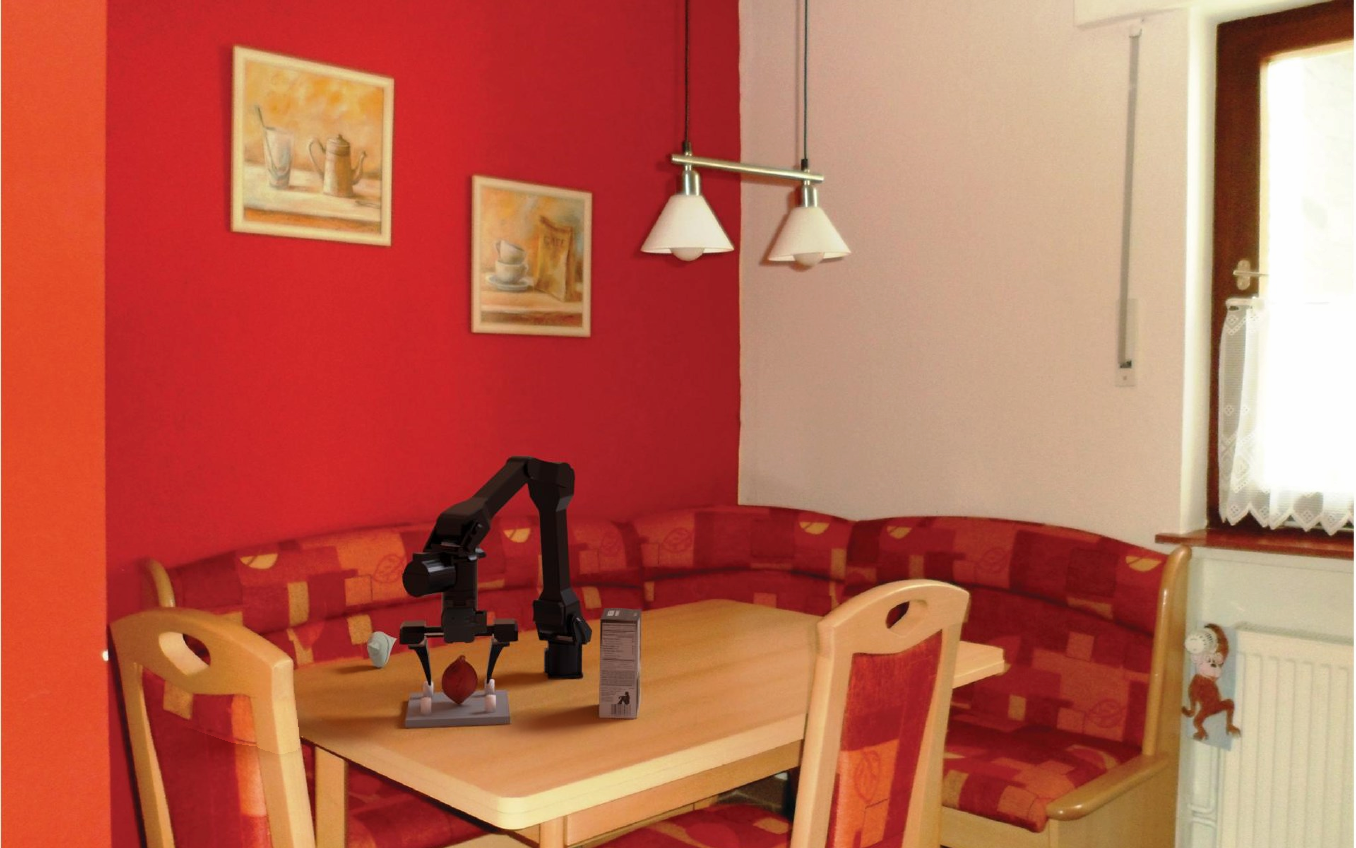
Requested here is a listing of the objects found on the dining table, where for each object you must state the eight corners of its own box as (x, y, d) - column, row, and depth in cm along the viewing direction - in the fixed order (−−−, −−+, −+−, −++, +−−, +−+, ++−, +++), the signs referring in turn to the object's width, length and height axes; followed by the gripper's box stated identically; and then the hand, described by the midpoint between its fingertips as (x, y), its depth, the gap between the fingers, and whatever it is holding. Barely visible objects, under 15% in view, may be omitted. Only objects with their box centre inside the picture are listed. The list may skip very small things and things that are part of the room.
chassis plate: (506, 696, 192) (507, 675, 192) (510, 724, 176) (510, 700, 176) (410, 700, 189) (410, 678, 189) (405, 728, 173) (405, 704, 173)
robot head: (376, 673, 207) (376, 636, 206) (357, 671, 208) (357, 635, 208) (399, 663, 214) (399, 628, 214) (380, 662, 215) (381, 626, 215)
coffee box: (603, 703, 189) (604, 607, 188) (641, 703, 189) (642, 608, 188) (597, 718, 180) (598, 618, 179) (637, 719, 179) (639, 618, 179)
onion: (459, 711, 178) (461, 661, 178) (432, 704, 181) (434, 655, 181) (483, 703, 183) (486, 655, 183) (457, 697, 186) (459, 649, 186)
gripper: (397, 598, 172) (396, 699, 173) (520, 596, 176) (519, 695, 176) (401, 586, 183) (400, 681, 184) (517, 584, 187) (516, 677, 187)
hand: (459, 684), depth 182 cm, fingers open, 9 cm apart
